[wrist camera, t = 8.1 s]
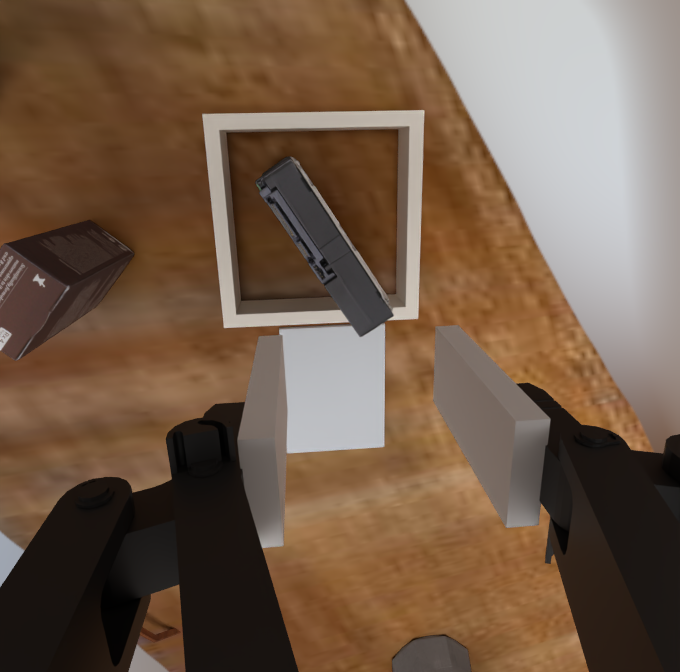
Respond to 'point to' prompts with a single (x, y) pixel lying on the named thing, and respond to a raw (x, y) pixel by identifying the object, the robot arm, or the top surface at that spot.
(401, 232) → the storage box
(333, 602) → the top surface
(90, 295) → the box
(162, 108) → the top surface
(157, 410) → the top surface
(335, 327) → the mat
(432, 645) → the coffeepot
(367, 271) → the disk drive
